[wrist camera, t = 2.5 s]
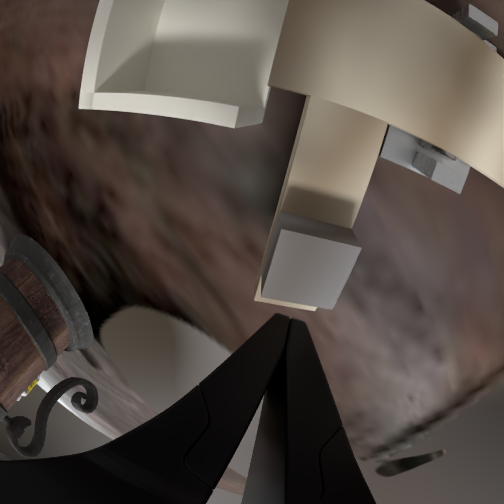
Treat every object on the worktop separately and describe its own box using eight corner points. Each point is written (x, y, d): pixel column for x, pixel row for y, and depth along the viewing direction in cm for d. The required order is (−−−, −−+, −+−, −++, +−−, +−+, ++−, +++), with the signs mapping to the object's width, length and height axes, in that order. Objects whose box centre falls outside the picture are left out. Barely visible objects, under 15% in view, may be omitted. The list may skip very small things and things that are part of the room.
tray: (301, -33, 8) (289, -77, 4) (262, 123, 13) (234, 128, 9) (166, -33, 9) (122, -58, 5) (133, 102, 14) (78, 108, 10)
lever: (549, 116, 7) (576, 126, 5) (461, 320, 15) (476, 345, 13) (300, -41, 6) (308, -69, 4) (224, 280, 14) (217, 316, 12)
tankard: (-2, 251, 27) (-92, 328, 10) (36, 214, 21) (-112, 333, 4) (80, 376, 36) (18, 461, 19) (148, 390, 29) (73, 517, 12)
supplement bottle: (43, 379, 48) (22, 405, 40) (36, 377, 50) (17, 400, 42) (29, 363, 46) (7, 388, 38) (24, 361, 48) (3, 385, 40)
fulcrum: (494, 48, 7) (524, 41, 4) (458, 192, 12) (484, 213, 9) (416, 3, 8) (434, -19, 5) (379, 155, 12) (393, 167, 10)
